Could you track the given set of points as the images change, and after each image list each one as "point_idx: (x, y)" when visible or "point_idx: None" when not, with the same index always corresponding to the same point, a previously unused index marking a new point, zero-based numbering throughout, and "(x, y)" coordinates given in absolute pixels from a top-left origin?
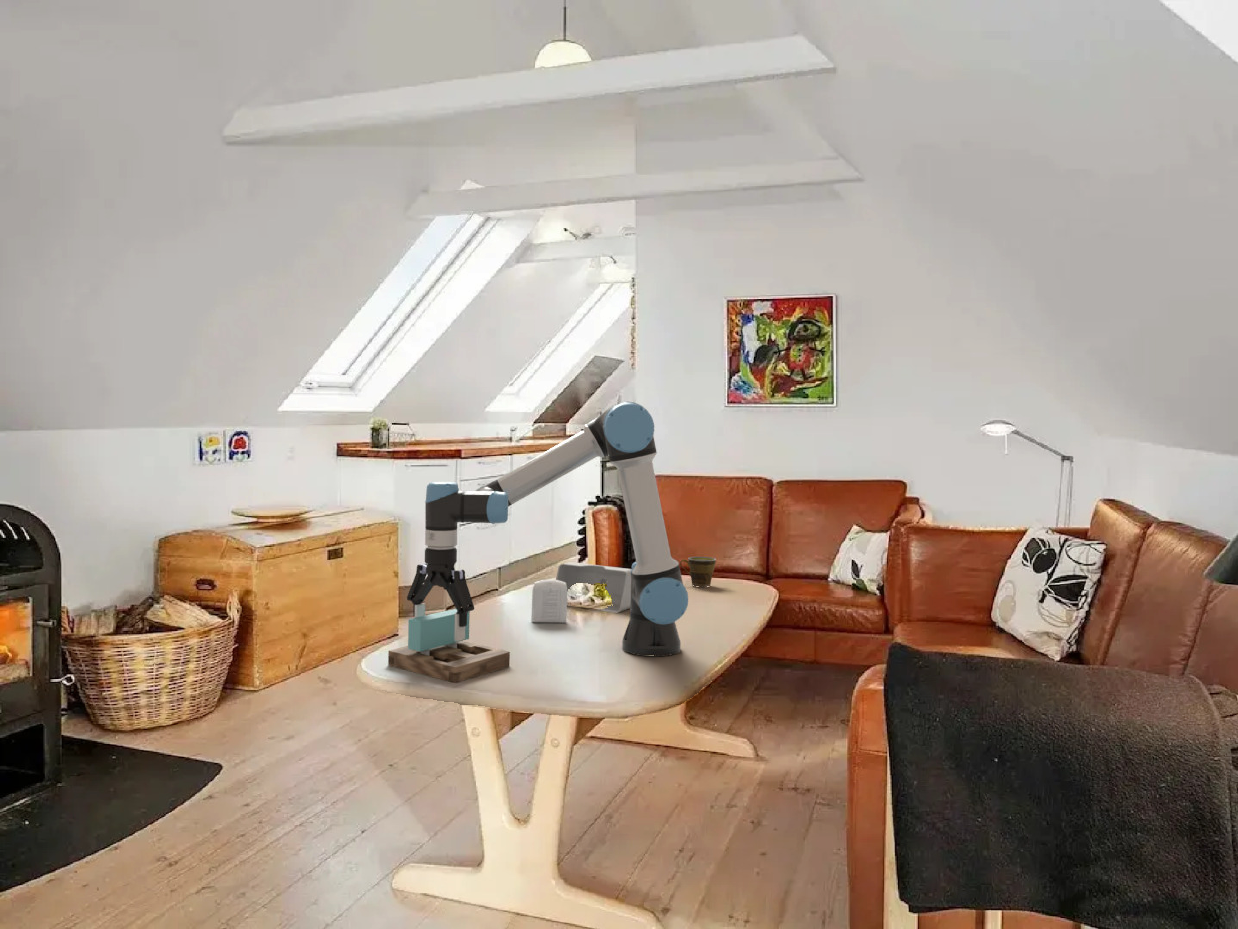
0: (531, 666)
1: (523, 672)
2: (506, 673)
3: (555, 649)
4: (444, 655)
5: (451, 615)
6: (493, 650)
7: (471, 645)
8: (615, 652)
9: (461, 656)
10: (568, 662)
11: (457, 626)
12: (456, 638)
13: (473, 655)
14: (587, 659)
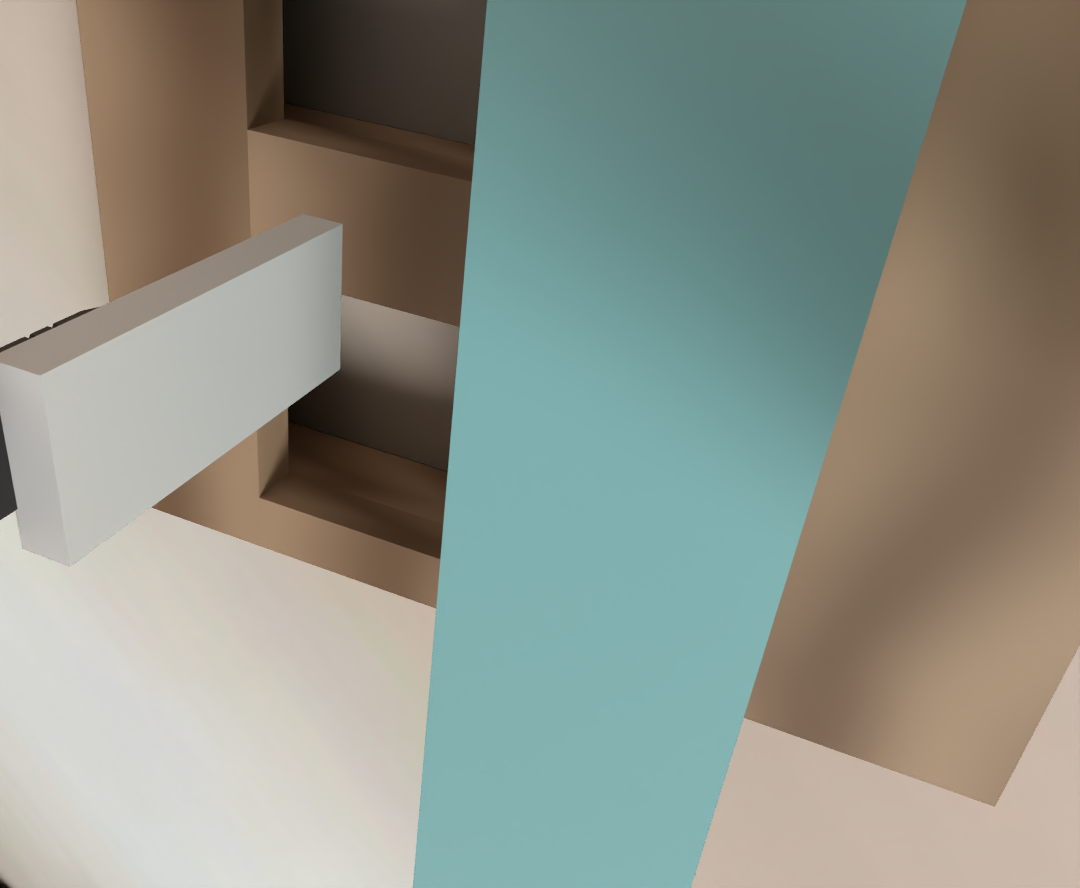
0: None
1: None
2: (103, 259)
3: (278, 882)
4: None
5: (436, 628)
6: (247, 488)
7: None
8: (33, 876)
9: (312, 143)
10: (42, 652)
11: (166, 288)
12: (283, 223)
13: None
14: (24, 733)
